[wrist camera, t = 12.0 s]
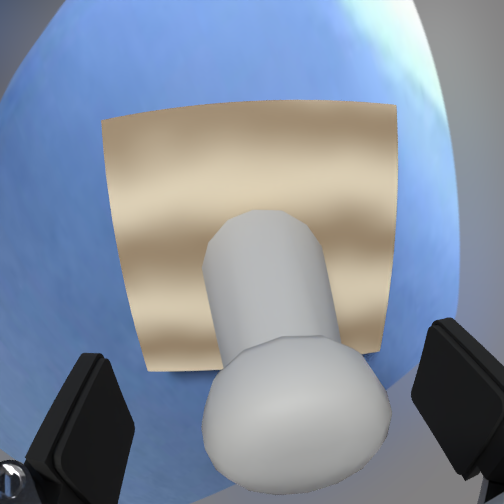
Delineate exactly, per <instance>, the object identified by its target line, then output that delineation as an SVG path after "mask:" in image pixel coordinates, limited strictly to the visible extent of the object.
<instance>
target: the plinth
mask: <svg viewBox="0 0 504 504" xmlns="http://www.w3.org/2000/svg"><path fill="white" fill-rule="evenodd" d="M101 123H102V137H103V148H104V159H105V168H106V177H107V185H108V192H109V200H110V207H111V213H112V219H113V226H114V232H115V237H116V243H117V248H118V253H119V258H120V263H121V268H122V273H123V278H124V282H125V287H126V291H127V296H128V300H129V304H130V308H131V312H132V316H133V320H134V324H135V328H136V331H137V335H138V339H139V342H140V346H141V349H142V353H143V356H144V359H145V363H146V366H147V369H148V371H201V370H222V369H223V364H222V359H221V355H220V351H219V346H218V342H217V338H216V333H215V329H214V324H213V319H212V315H211V310H210V305H209V301H208V296H207V291H206V286H205V281H204V276H203V271H202V265H203V261H204V257H205V254H206V250H207V246H208V242H209V241H210V240H211V239H212V238H213V237H214V235H215V234H216V233H217V232H218V231H219V230H220V228H221V227H222V226H223V225H224V224H225V223H226V221H227V220H228V219H231V218H233V217H236V216H238V215H241V214H243V213H246V212H249V211H251V210H281V211H284V212H286V213H287V214H289V215H291V216H293V217H294V218H296V219H298V220H299V221H301V222H303V223H304V224H306V225H307V226H308V227H309V229H310V230H311V232H312V233H313V234H314V236H315V237H316V239H317V240H318V242H319V243H320V245H321V246H322V249H323V254H324V258H325V263H326V268H327V272H328V277H329V282H330V286H331V291H332V296H333V301H334V306H335V311H336V317H337V322H338V327H339V333H340V338H341V344H344V345H346V346H348V347H351V348H353V349H354V350H356V351H358V352H359V353H361V354H366V353H372V352H377V351H380V347H381V341H382V336H383V330H384V324H385V318H386V311H387V304H388V297H389V289H390V281H391V273H392V263H393V253H394V242H395V228H396V212H397V186H398V134H397V109H396V105H391V104H380V103H368V102H353V101H331V100H266V101H244V102H228V103H216V104H205V105H195V106H186V107H178V108H170V109H163V110H156V111H150V112H143V113H137V114H132V115H126V116H121V117H115V118H110V119H106V120H101Z"/></svg>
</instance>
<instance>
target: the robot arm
mask: <svg viewBox="0 0 504 504" xmlns="http://www.w3.org/2000/svg"><path fill="white" fill-rule="evenodd" d="M411 398H412V401H413V403H414V404H415V406H416V407H417V409H418V411H419V412H420V414H421V415H422V417H423V419H424V420H425V422H426V423H427V425H428V426H429V428H430V430H431V431H432V433H433V435H434V436H435V438H436V440H437V441H438V443H439V444H440V446H441V448H442V449H443V451H444V453H445V454H446V456H447V458H448V459H449V461H450V463H451V465H452V466H453V468H454V470H455V471H456V472H457V474H459V475H462V476H463V478H464V480H465V481H466V480H468V479H470V478H472V477H474V476H476V475H478V474H479V473H480V471H481V473H482V474H483V481H482V486H481V491H480V495H479V499H478V503H477V504H504V366H503V365H502V364H501V363H500V362H499V361H497V359H496V358H495V357H494V356H493V355H491V353H489V352H488V351H487V350H486V349H485V348H484V347H483V346H482V345H481V344H480V343H479V342H478V341H477V340H476V339H475V338H473V336H471V335H470V334H469V333H468V332H467V331H466V330H465V329H464V328H463V327H462V326H461V325H459V324H458V323H457V322H456V321H455V320H454V319H453V318H445V319H440V320H436V321H434V322H433V323H432V326H431V327H429V329H428V332H427V336H426V340H425V344H424V348H423V352H422V356H421V360H420V363H419V367H418V371H417V374H416V377H415V381H414V384H413V387H412V391H411ZM134 432H135V426H134V422H133V419H132V417H131V415H130V412H129V410H128V407H127V405H126V403H125V400H124V398H123V395H122V393H121V390H120V388H119V385H118V382H117V380H116V377H115V374H114V372H113V369H112V366H111V363H110V361H109V360H108V359H105V358H104V356H103V355H102V354H100V353H83V354H81V355H80V357H79V359H78V360H77V362H76V364H75V365H74V367H73V369H72V371H71V372H70V374H69V376H68V377H67V379H66V381H65V383H64V384H63V386H62V388H61V390H60V391H59V393H58V395H57V397H56V399H55V400H54V402H53V404H52V406H51V408H50V410H49V411H48V413H47V415H46V417H45V419H44V421H43V423H42V425H41V427H40V428H39V430H38V432H37V434H36V436H35V438H34V440H33V442H32V444H31V446H30V448H29V450H28V452H27V455H26V457H25V458H26V461H25V463H24V464H23V463H21V462H19V461H16V460H4V461H1V462H0V504H118V500H119V495H120V490H121V486H122V482H123V477H124V473H125V469H126V464H127V460H128V456H129V452H130V448H131V444H132V440H133V436H134Z"/></svg>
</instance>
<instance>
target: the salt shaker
mask: <svg viewBox="0 0 504 504" xmlns="http://www.w3.org/2000/svg"><path fill="white" fill-rule="evenodd" d="M202 271H203V276H204V281H205V286H206V291H207V296H208V301H209V305H210V310H211V315H212V319H213V324H214V329H215V333H216V338H217V342H218V346H219V351H220V355H221V359H222V364H223V369H222V370H221V371H220V372H219V373H218V374H217V376H216V377H215V379H214V380H213V383H212V386H211V389H210V392H209V395H208V398H207V401H206V404H205V408H204V414H203V420H202V433H203V439H204V445H205V450H206V452H207V454H208V456H209V457H210V459H211V461H212V463H213V465H214V467H215V468H216V470H217V471H218V472H220V473H221V474H222V475H224V476H225V477H226V478H228V479H229V480H231V481H233V482H234V483H236V484H238V485H240V486H242V487H243V488H245V489H247V490H249V491H254V492H260V493H267V494H273V495H286V494H298V493H308V492H311V491H315V490H318V489H321V488H325V487H327V486H331V485H334V484H337V483H339V482H340V481H342V480H344V479H346V478H347V477H349V476H351V475H352V474H354V473H356V472H358V471H359V470H361V469H362V468H363V467H364V466H365V465H366V464H367V463H368V462H369V460H370V459H371V458H372V457H373V456H374V455H375V454H376V453H377V451H378V450H379V449H380V447H381V445H382V443H383V442H384V441H385V439H386V437H387V434H388V430H389V425H390V421H391V416H392V410H391V406H390V403H389V399H388V395H387V392H386V390H385V389H384V387H383V386H382V384H381V383H380V381H379V380H378V378H377V377H376V375H375V374H374V372H373V371H372V369H371V368H370V366H369V365H368V363H367V362H366V360H365V359H364V358H363V356H362V355H361V353H359V352H358V351H356V350H354V349H353V348H351V347H348V346H346V345H344V344H341V338H340V333H339V327H338V322H337V317H336V311H335V306H334V301H333V296H332V291H331V286H330V282H329V277H328V272H327V268H326V263H325V258H324V254H323V249H322V246H321V245H320V243H319V242H318V240H317V239H316V237H315V236H314V234H313V233H312V232H311V230H310V229H309V227H308V226H307V225H306V224H304V223H303V222H301V221H299V220H298V219H296V218H294V217H293V216H291V215H289V214H287V213H286V212H284V211H281V210H251V211H249V212H246V213H243V214H241V215H238V216H236V217H233V218H231V219H228V220H227V221H226V223H225V224H224V225H223V226H222V227H221V228H220V230H219V231H218V232H217V233H216V234H215V235H214V237H213V238H212V239H211V240H210V241H209V242H208V246H207V250H206V254H205V257H204V261H203V265H202Z"/></svg>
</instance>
